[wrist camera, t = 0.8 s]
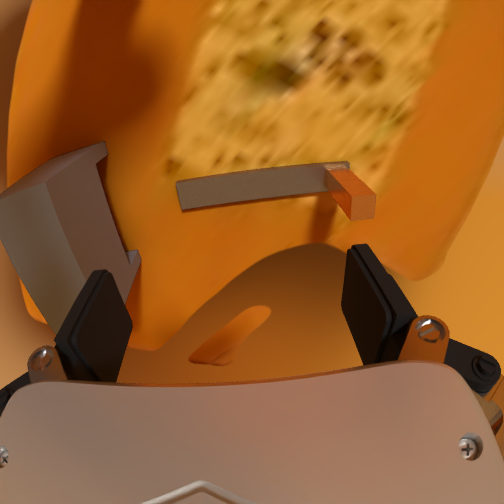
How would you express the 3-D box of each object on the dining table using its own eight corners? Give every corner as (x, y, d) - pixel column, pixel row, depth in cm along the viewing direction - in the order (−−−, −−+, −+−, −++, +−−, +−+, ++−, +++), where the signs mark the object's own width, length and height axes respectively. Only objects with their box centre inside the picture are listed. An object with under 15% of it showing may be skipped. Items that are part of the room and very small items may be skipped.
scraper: (346, 160, 40) (380, 190, 31) (346, 186, 42) (377, 221, 33) (177, 180, 40) (160, 216, 31) (182, 206, 42) (169, 247, 33)
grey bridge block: (50, 158, 36) (-14, 205, 22) (104, 141, 36) (45, 182, 22) (91, 267, 47) (56, 335, 33) (141, 260, 47) (115, 334, 33)
